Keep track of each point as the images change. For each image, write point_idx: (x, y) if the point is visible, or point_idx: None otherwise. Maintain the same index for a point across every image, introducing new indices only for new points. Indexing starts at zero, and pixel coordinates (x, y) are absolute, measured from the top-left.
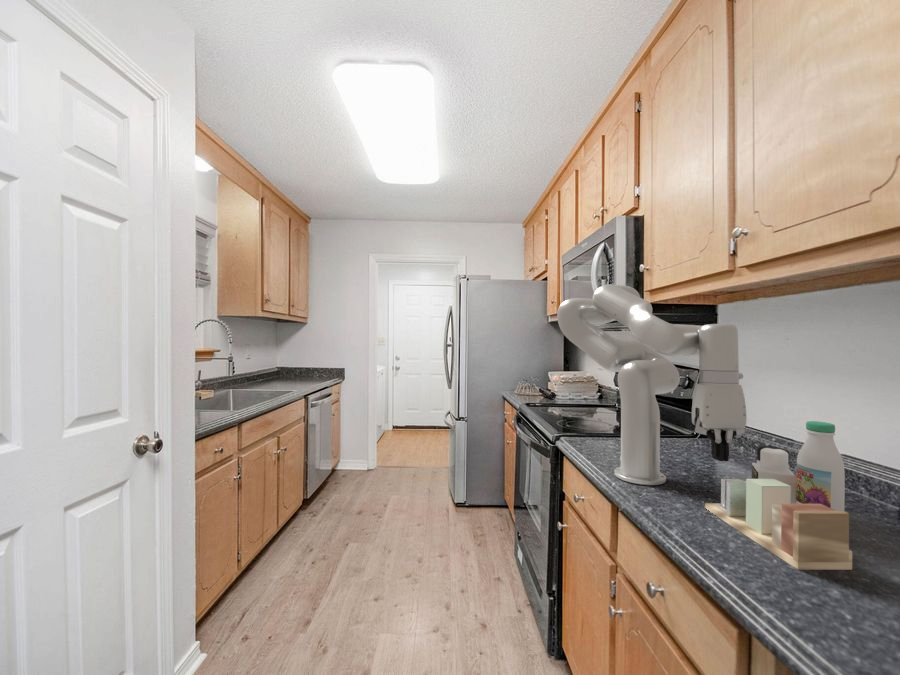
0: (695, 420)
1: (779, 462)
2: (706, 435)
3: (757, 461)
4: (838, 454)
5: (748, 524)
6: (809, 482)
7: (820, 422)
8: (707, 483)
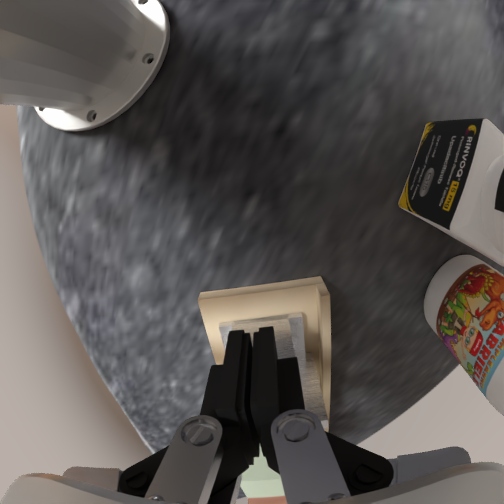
0: (25, 501)
1: None
2: (148, 466)
3: (493, 183)
4: None
5: None
6: (466, 366)
7: None
8: (317, 53)
